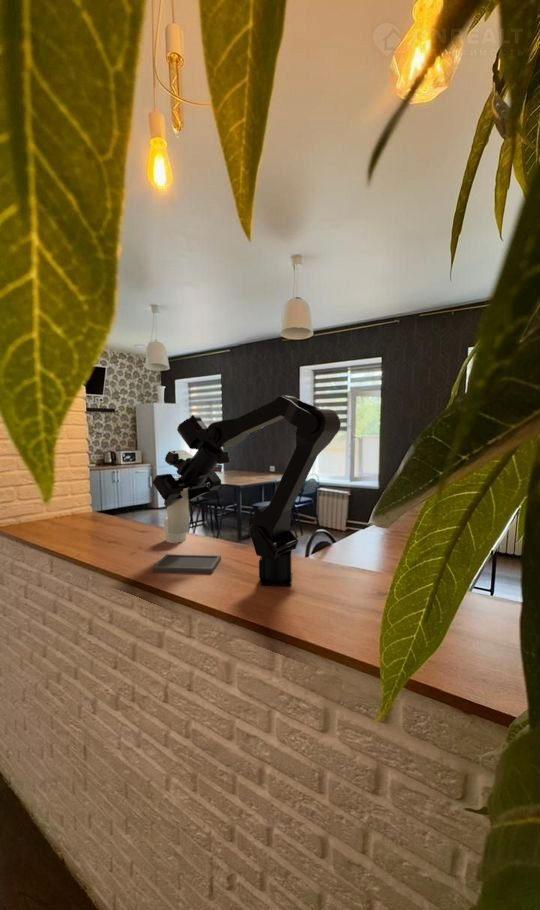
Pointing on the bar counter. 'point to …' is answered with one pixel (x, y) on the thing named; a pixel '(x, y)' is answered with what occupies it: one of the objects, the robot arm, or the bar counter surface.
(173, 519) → the tumbler
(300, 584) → the bar counter surface
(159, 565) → the bar mat
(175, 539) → the shot glass
